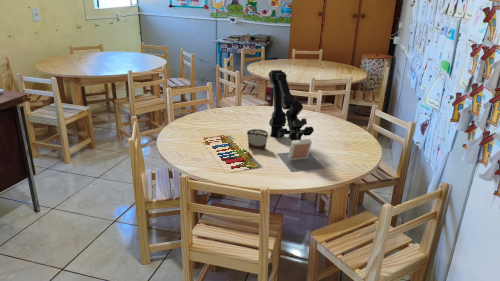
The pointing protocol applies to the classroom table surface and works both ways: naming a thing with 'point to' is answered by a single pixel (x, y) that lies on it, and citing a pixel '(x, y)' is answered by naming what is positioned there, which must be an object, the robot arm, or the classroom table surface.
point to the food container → (257, 139)
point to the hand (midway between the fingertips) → (298, 147)
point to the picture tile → (299, 149)
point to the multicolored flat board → (242, 157)
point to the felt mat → (300, 163)
